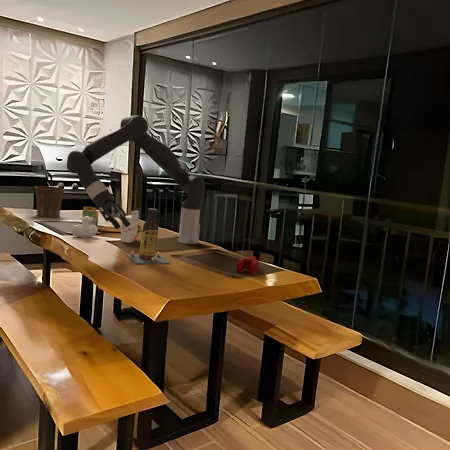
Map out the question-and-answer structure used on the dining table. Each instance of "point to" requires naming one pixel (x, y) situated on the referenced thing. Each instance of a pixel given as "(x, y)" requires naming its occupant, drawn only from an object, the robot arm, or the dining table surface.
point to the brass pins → (152, 257)
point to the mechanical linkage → (248, 264)
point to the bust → (84, 228)
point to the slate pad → (138, 260)
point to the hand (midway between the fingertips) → (123, 227)
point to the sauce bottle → (149, 235)
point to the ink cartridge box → (130, 228)
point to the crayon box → (91, 215)
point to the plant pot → (48, 200)
